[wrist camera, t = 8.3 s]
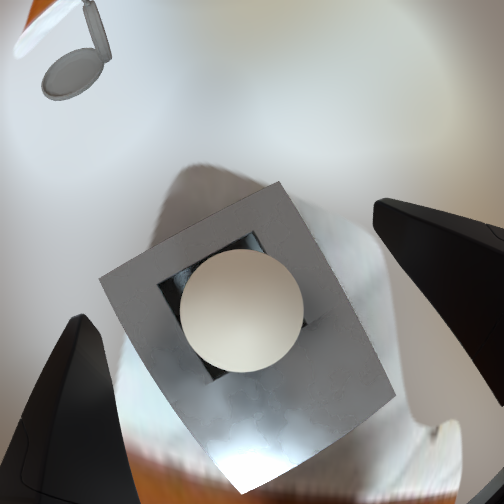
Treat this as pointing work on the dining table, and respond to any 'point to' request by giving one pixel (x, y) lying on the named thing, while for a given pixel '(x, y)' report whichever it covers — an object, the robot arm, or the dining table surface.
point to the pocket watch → (79, 62)
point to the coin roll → (241, 310)
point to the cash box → (267, 379)
